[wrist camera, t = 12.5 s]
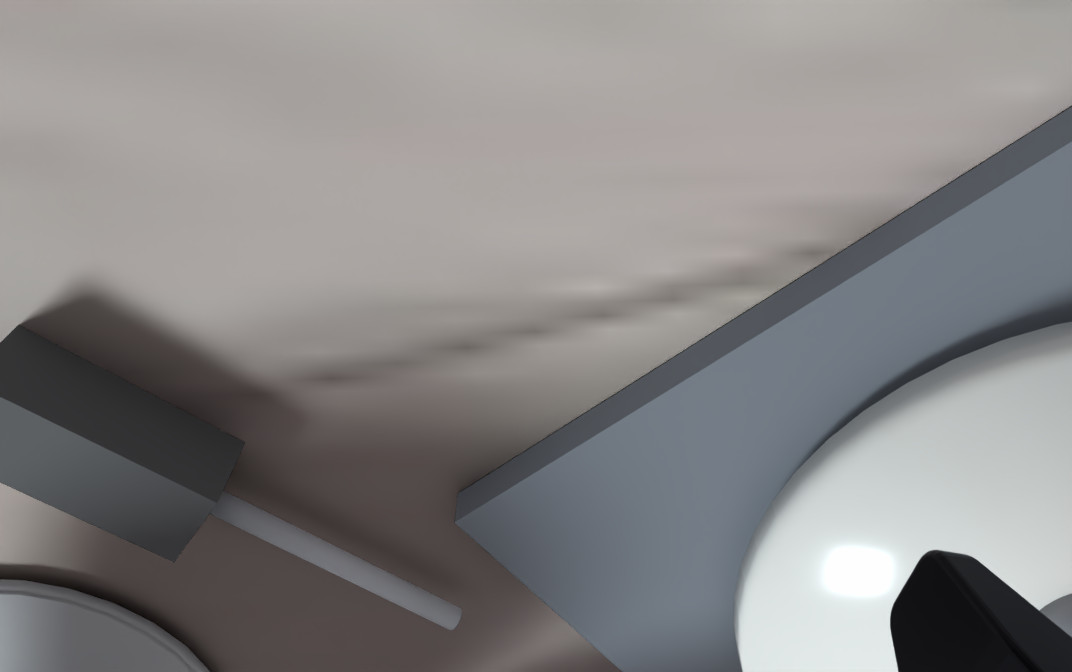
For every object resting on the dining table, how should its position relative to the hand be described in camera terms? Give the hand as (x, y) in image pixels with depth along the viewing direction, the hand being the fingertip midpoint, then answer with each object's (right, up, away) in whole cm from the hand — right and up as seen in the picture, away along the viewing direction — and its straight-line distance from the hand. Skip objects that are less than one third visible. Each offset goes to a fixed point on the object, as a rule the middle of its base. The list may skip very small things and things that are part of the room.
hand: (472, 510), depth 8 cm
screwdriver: (-8, -3, +17) cm, 19 cm away
